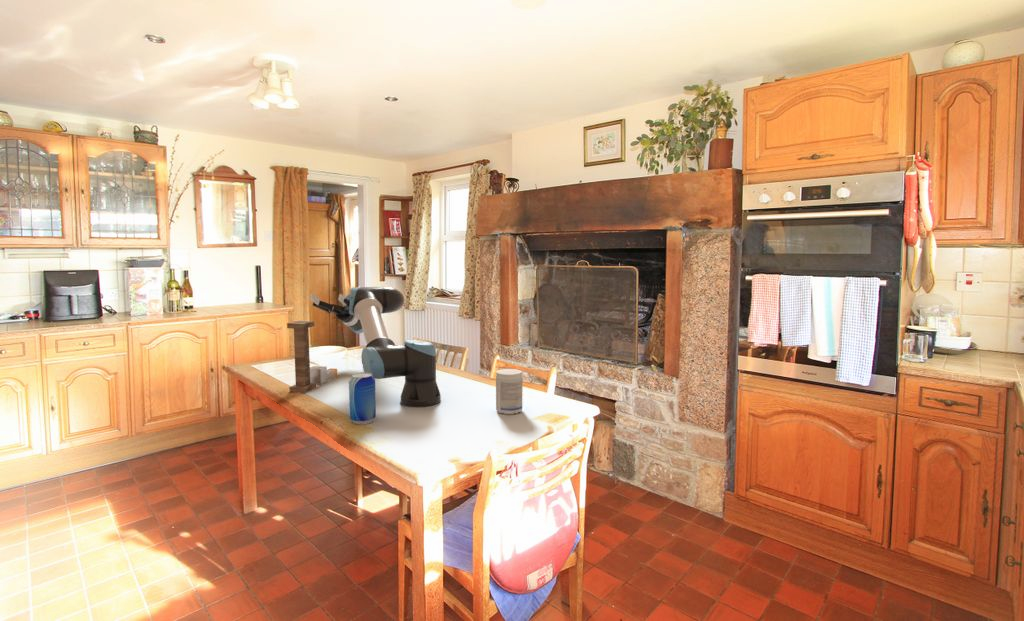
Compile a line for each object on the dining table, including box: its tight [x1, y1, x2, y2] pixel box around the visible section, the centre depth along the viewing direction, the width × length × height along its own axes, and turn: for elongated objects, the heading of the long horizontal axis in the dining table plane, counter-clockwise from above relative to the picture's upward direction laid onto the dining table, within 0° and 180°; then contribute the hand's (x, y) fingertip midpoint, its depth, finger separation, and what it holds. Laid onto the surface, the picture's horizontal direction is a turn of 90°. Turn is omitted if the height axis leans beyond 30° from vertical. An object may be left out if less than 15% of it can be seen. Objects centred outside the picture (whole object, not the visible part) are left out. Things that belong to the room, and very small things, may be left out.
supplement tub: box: [495, 368, 523, 415], centre depth 185 cm, size 10×10×15 cm
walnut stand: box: [286, 320, 317, 394], centre depth 209 cm, size 8×7×28 cm
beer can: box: [348, 372, 377, 425], centre depth 172 cm, size 8×8×16 cm
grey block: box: [310, 365, 338, 386], centre depth 226 cm, size 16×6×7 cm, turn 170°
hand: (325, 296), depth 224 cm, fingers open, 13 cm apart
